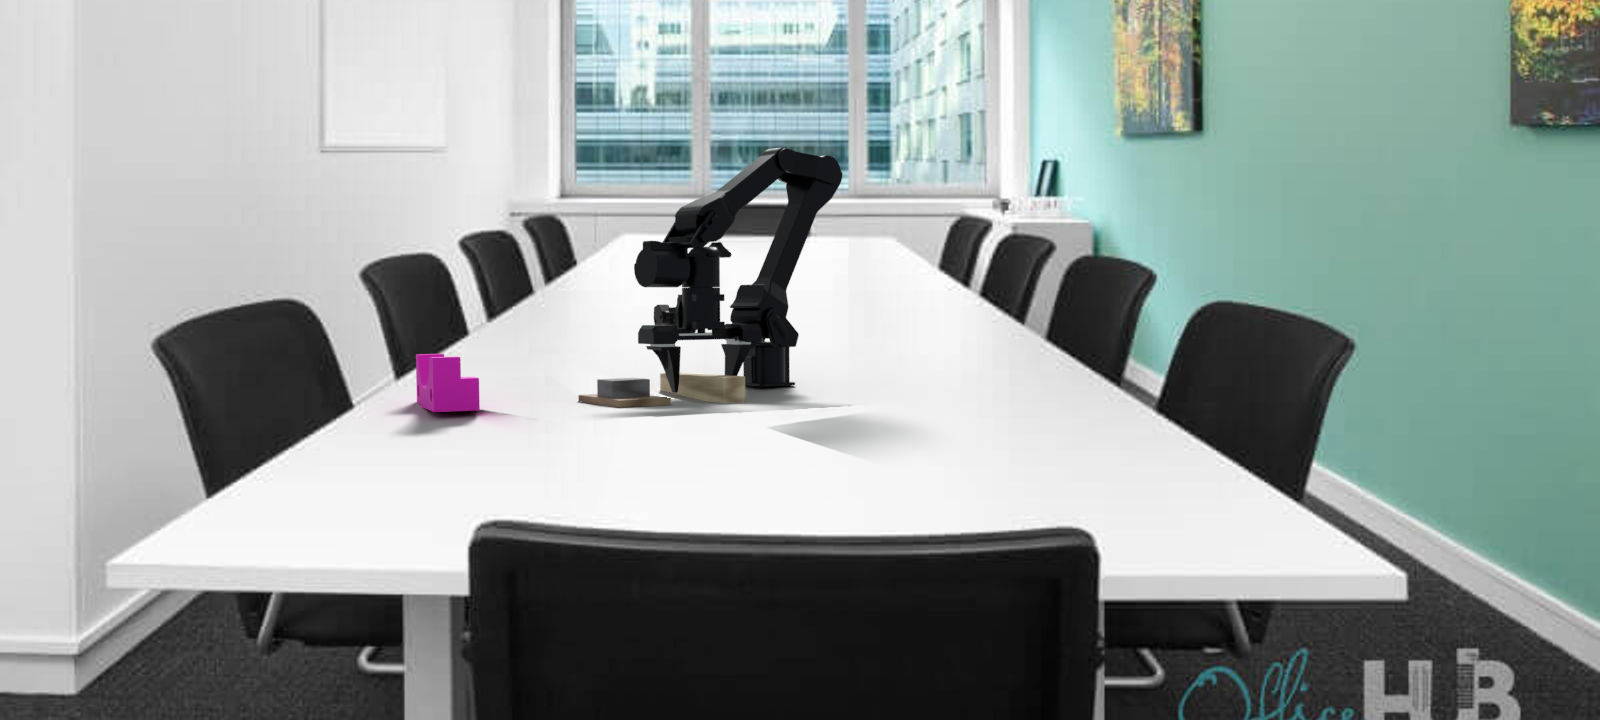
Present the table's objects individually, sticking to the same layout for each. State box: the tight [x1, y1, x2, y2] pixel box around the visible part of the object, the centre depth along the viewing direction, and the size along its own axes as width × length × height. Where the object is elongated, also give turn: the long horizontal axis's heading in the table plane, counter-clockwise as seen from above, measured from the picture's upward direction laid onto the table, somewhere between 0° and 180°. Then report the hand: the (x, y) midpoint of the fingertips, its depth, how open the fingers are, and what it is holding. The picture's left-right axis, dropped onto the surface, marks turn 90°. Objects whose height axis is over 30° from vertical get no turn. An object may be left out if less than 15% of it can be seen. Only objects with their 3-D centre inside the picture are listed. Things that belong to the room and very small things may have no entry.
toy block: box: [415, 353, 481, 413], centre depth 193 cm, size 15×6×8 cm, turn 24°
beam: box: [659, 372, 746, 404], centre depth 203 cm, size 4×16×4 cm, turn 41°
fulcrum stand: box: [578, 377, 672, 409], centre depth 196 cm, size 8×14×4 cm, turn 33°
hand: (701, 391), depth 203 cm, fingers open, 9 cm apart
